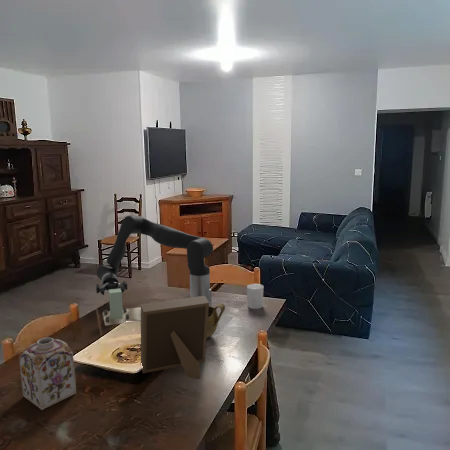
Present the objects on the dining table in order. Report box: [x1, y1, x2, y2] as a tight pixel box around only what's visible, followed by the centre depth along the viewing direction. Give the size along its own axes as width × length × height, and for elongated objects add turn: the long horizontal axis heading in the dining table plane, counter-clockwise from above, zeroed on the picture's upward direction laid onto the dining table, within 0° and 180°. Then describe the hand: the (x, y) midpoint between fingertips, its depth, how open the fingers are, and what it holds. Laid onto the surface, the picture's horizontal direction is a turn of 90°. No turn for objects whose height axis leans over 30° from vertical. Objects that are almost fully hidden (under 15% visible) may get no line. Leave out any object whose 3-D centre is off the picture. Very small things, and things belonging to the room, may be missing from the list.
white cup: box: [246, 283, 264, 310], centre depth 203 cm, size 8×8×10 cm
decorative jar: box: [19, 337, 77, 411], centre depth 131 cm, size 12×12×18 cm
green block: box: [108, 288, 124, 320], centre depth 188 cm, size 5×5×12 cm
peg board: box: [102, 306, 141, 326], centre depth 192 cm, size 24×16×4 cm, turn 110°
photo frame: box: [140, 296, 209, 380], centre depth 143 cm, size 15×22×25 cm
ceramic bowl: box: [174, 298, 226, 340], centre depth 170 cm, size 22×17×15 cm
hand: (113, 291), depth 197 cm, fingers open, 8 cm apart
